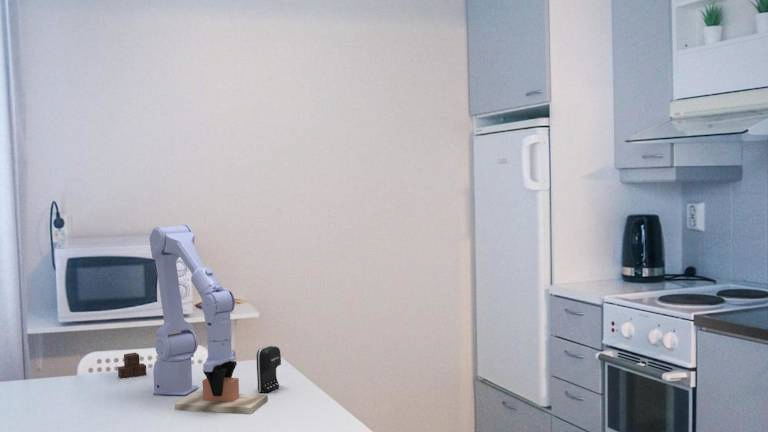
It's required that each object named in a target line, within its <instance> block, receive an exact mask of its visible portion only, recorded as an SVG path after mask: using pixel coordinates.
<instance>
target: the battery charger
mask: <svg viewBox="0 0 768 432" xmlns="http://www.w3.org/2000/svg"><path fill="white" fill-rule="evenodd" d="M281 365H282V357H281V349H280V348H279V347H278V346H272V345H267V346H263V347H262V348H259V349H258V350H257V353H256V375H257V376H256V377H257V392H259V393H269V392H272V391H275V390H276V389H278V388H279V387H280V384H279V381H278V378H277V368H278V367H279V366H281Z"/></svg>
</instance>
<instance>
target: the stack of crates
mask: <svg viewBox="0 0 768 432" xmlns="http://www.w3.org/2000/svg"><path fill="white" fill-rule="evenodd" d="M117 374H118V375H117V377H118V376H119V377H120V378H119V377H118V378H119V379H121V380H123V379H122V378H125V379H129V378H130V377H131V378H137V377H144V376H147V364H145V363H141V362H140V354H139V353H137V352H132V353H131V352H130V353H124V354H123V365H121V366H117Z"/></svg>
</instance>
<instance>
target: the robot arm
mask: <svg viewBox="0 0 768 432" xmlns="http://www.w3.org/2000/svg"><path fill="white" fill-rule="evenodd" d="M148 239H149V246H150V252H151V257H152V259H153V260H155V267H156V273H157V282H158V287H159V288H158V289H159V295H160V302H161V303H160V304H161V308H162V310H161V311H162V315H163V323H162V324H161V326H160V327H159V328H158V329H157V330H156V332H155V345H154V346H155V348H154V349H155V352H156V354H157V356H158V358H157V359H156V360H155V361H154V363H153V369H152V370H153V372H152V373H153V391H152V394H153V395H164V396H165V395H166V396H167V395H170V396H188V395H189V394H191V393H193V391H195V390H197V389H198V388H199V385H193V372H192V369H193V368H192V367H193V366H192V358H194V356H195V355H194V354H195V353H196V352H197V349H198V346H199V342H198V337H197V335H196V332H195V329H194V325H193V324H192V323H190V322H188V321H187V320H186V319H185V316H184V315H185V314H184V308H183V302H182V301H183V300H182V296H181V295H182V294H181V287H180V282H179V273H178V268H177V261H178V260H179V258H180V259H181V261H183V263H184V264H185V266H186V267H187V269H188V270H189V271H190V273H191V274H192V276H191V278H190V280H191V283H192V285H193V287H194V288H195V290H196V291H197V293H198V295H199V296H200V298H201V303H200V305H201V310H202V312H203V314H204V320H205V321H204V322H205V323H206V331H207V333H206V335H207V339H206V340H207V358H206V360H205V362H204V363H203V369H202V372H203V374H204V375H205V377H206V378H207V379H208V381H209V384H210V387H211V391H212V394H213V396H222V392H223V382H224V377H226V378H233V374H234V371H235V369H236V367H237V362H238V361H236V360H237V357H236V350H232V330H231V329H232V326H231V322H232V321H231V312H233V311H234V309H235V306H236V301H235V296H234V294H233V292H232V290H231V289H228V288H226V287H225V286H223V285H222V284H221V283H220V281H219V280H218V277H217V276H216V275H215V272H214V271H213V270H212V268H210V267H206V266H205V264H204V263H203V261H202V259H201V257H200V255H199V252H198V250H197V248H196V246H195V240H196V239H195V233H194V232H193V229H192V228H191V226H190V225H189V224H183V225H172V226H171V225H168V226H155V227H154V228H153V229H152V231H151V233H150V235H149V238H148ZM175 332H176V333H175Z"/></svg>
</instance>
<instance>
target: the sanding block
mask: <svg viewBox="0 0 768 432" xmlns="http://www.w3.org/2000/svg"><path fill="white" fill-rule="evenodd" d="M239 381H240V380H239V377H232V378H226V377H224V382H223V392H222V396H213V394H212V391H211V387H210V384H209V381H208V379H207V377H206V378H204V379H203V380H202V392H203V401H225V402H234V401H235V400H237V399H238V398H239V394H240V383H239Z"/></svg>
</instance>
